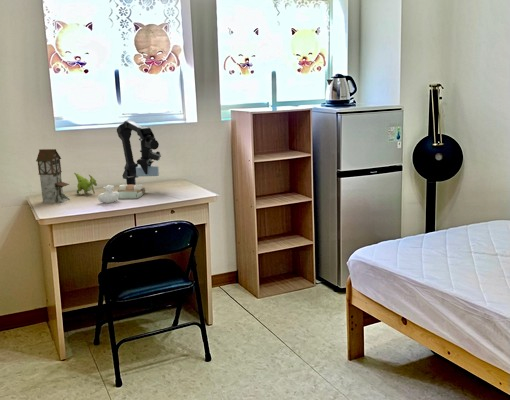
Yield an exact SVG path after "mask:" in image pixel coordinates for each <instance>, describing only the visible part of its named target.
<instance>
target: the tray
mask: <svg viewBox="0 0 510 400" xmlns="http://www.w3.org/2000/svg"><path fill="white" fill-rule="evenodd" d="M118 193H119V198H118V200H124V199H125V200H130V199H131V200H135V199H136V200H137V199H139V198H141V197H143V194H142V191H141V192H140V193H138V194H137V192H118Z"/></svg>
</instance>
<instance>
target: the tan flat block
mask: <svg viewBox="0 0 510 400" xmlns="http://www.w3.org/2000/svg"><path fill="white" fill-rule="evenodd" d="M141 191H142V194H145V193H146V189H145V187H143V189H141V190H119V189H118V190H116V192H137V194H138V193H140V192H141Z"/></svg>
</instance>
